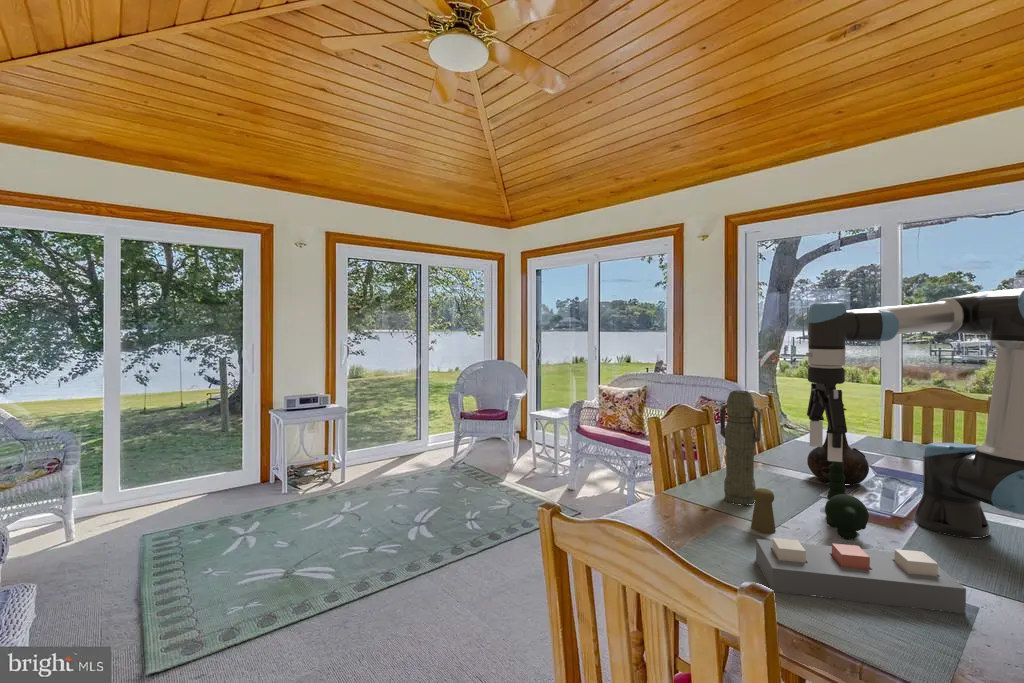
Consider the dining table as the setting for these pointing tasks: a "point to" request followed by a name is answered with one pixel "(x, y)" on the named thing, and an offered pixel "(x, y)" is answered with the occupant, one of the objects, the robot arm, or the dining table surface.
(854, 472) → the glass bottle
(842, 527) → the toy figurine
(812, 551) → the key panel
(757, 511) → the cork
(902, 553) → the near key
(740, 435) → the thermos
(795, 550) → the far key
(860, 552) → the middle key
